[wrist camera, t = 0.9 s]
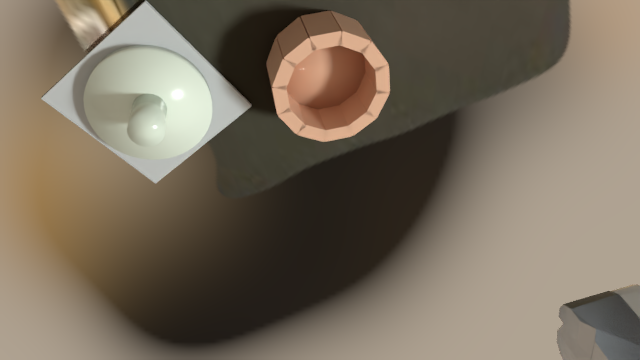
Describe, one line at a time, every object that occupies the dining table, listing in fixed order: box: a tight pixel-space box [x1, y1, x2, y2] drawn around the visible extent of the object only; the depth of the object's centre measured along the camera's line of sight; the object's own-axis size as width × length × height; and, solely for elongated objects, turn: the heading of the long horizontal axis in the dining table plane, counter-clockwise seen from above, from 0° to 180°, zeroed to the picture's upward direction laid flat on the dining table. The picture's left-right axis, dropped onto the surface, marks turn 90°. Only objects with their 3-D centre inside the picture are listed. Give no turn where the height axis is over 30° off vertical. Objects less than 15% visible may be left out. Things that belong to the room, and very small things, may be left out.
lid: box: [83, 45, 212, 160], centre depth 46 cm, size 11×11×5 cm
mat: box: [41, 0, 252, 183], centre depth 48 cm, size 13×13×1 cm
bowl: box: [266, 11, 390, 142], centre depth 47 cm, size 10×10×5 cm
